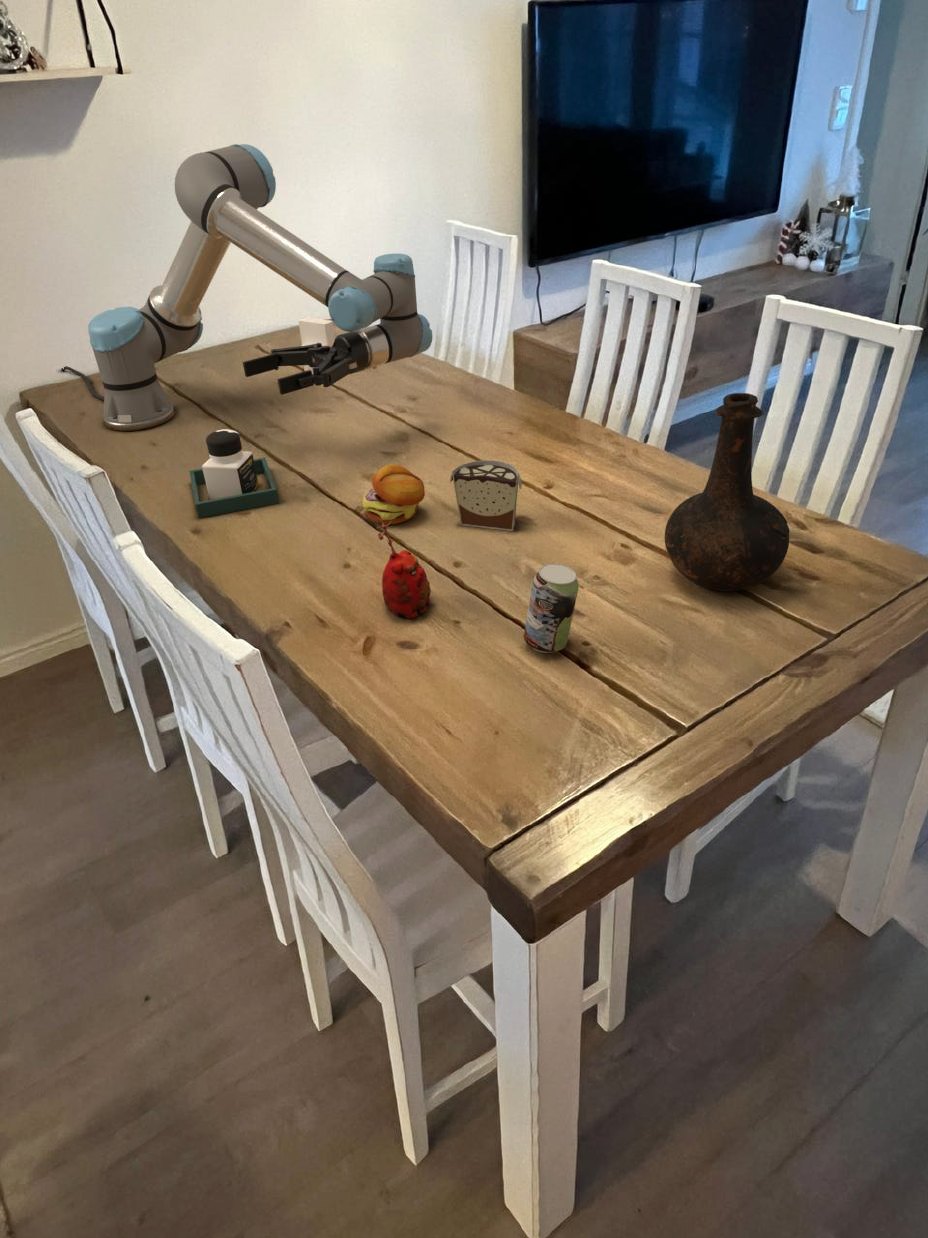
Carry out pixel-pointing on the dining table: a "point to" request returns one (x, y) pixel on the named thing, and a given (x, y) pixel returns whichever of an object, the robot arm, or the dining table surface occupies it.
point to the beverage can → (551, 608)
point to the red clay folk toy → (404, 582)
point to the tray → (235, 501)
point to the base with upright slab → (316, 333)
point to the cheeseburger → (393, 495)
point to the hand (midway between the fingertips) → (261, 378)
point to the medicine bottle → (228, 466)
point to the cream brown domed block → (486, 494)
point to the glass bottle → (729, 514)
